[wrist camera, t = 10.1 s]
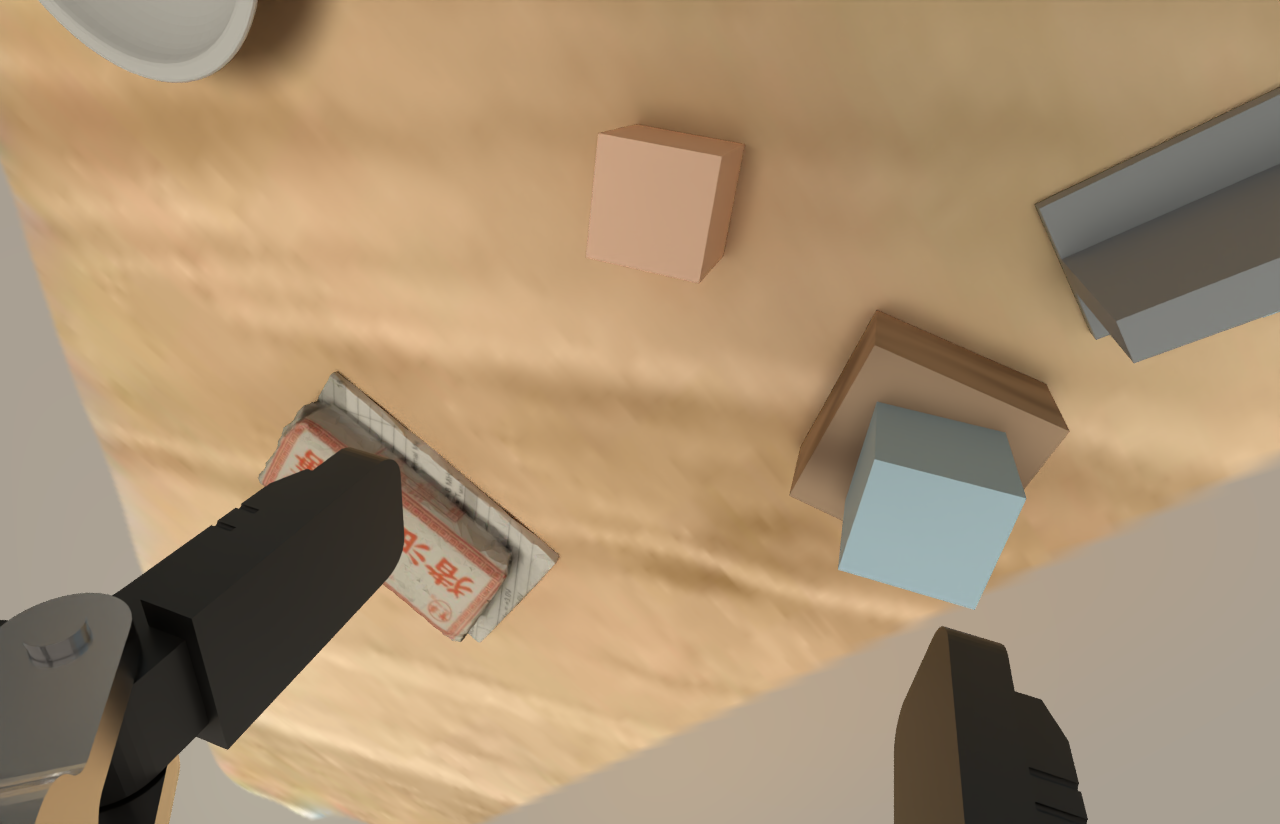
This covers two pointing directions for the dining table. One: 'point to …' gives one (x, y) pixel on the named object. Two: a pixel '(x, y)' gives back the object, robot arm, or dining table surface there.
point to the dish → (159, 33)
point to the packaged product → (424, 515)
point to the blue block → (930, 505)
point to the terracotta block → (662, 200)
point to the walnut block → (920, 406)
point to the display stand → (1177, 234)
